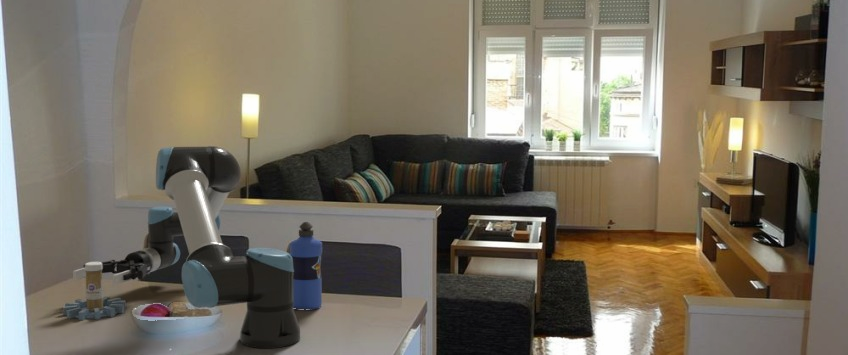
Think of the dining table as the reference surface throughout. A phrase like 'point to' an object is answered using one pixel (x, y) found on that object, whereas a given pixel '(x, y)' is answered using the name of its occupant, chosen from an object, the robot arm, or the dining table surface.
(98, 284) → the sprinkles bottle
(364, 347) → the dining table surface
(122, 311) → the blue gear trivet
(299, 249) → the water bottle
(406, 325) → the dining table surface
